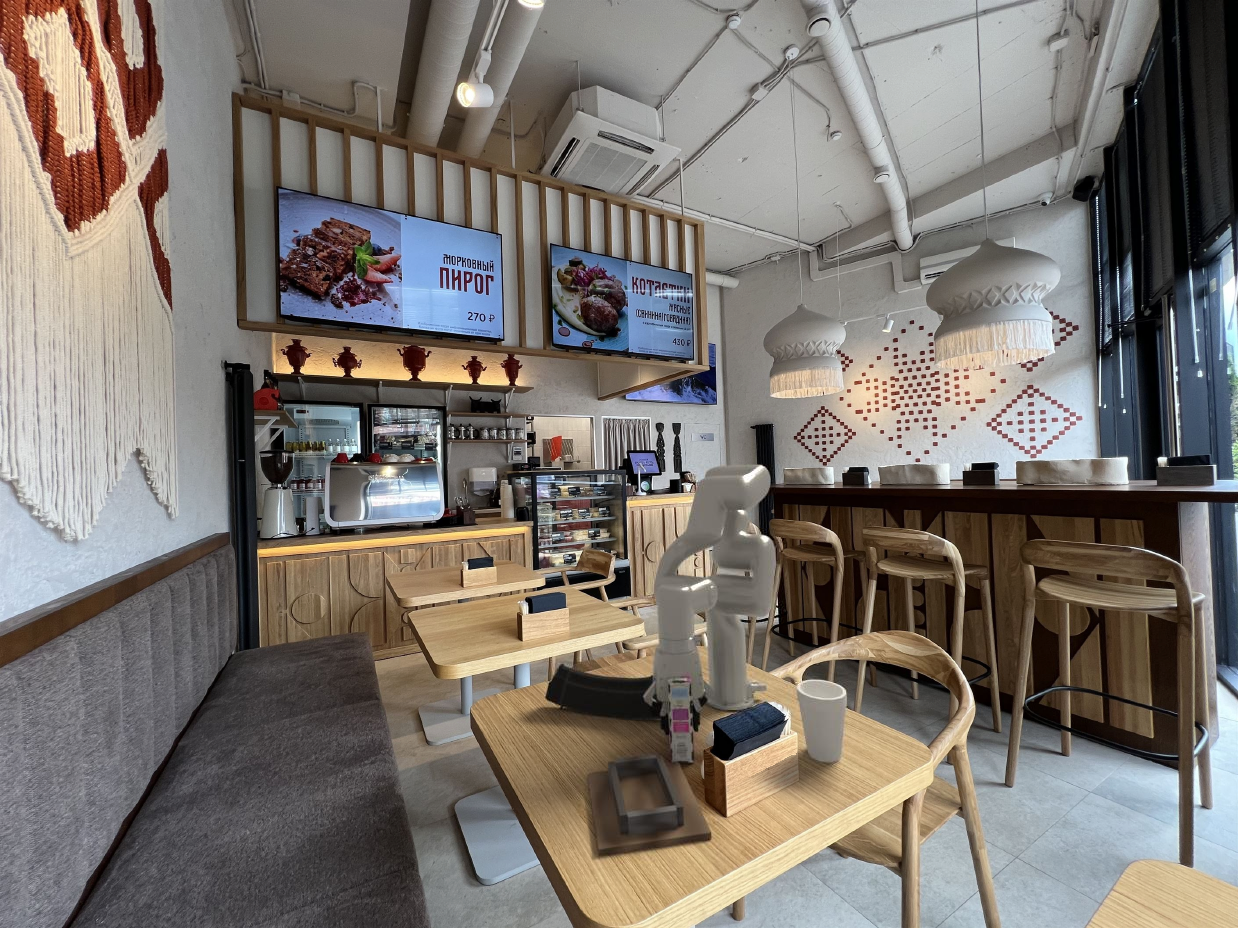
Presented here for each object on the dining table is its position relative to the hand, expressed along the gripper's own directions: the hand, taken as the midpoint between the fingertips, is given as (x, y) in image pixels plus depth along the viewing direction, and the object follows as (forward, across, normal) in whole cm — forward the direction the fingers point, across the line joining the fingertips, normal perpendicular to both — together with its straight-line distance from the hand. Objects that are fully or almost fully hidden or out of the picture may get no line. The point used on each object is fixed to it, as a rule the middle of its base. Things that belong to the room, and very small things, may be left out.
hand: (680, 729), depth 105 cm
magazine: (+5, +14, -20) cm, 25 cm away
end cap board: (+4, +11, +15) cm, 19 cm away
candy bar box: (+5, 0, -1) cm, 5 cm away
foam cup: (+5, -28, +7) cm, 29 cm away
